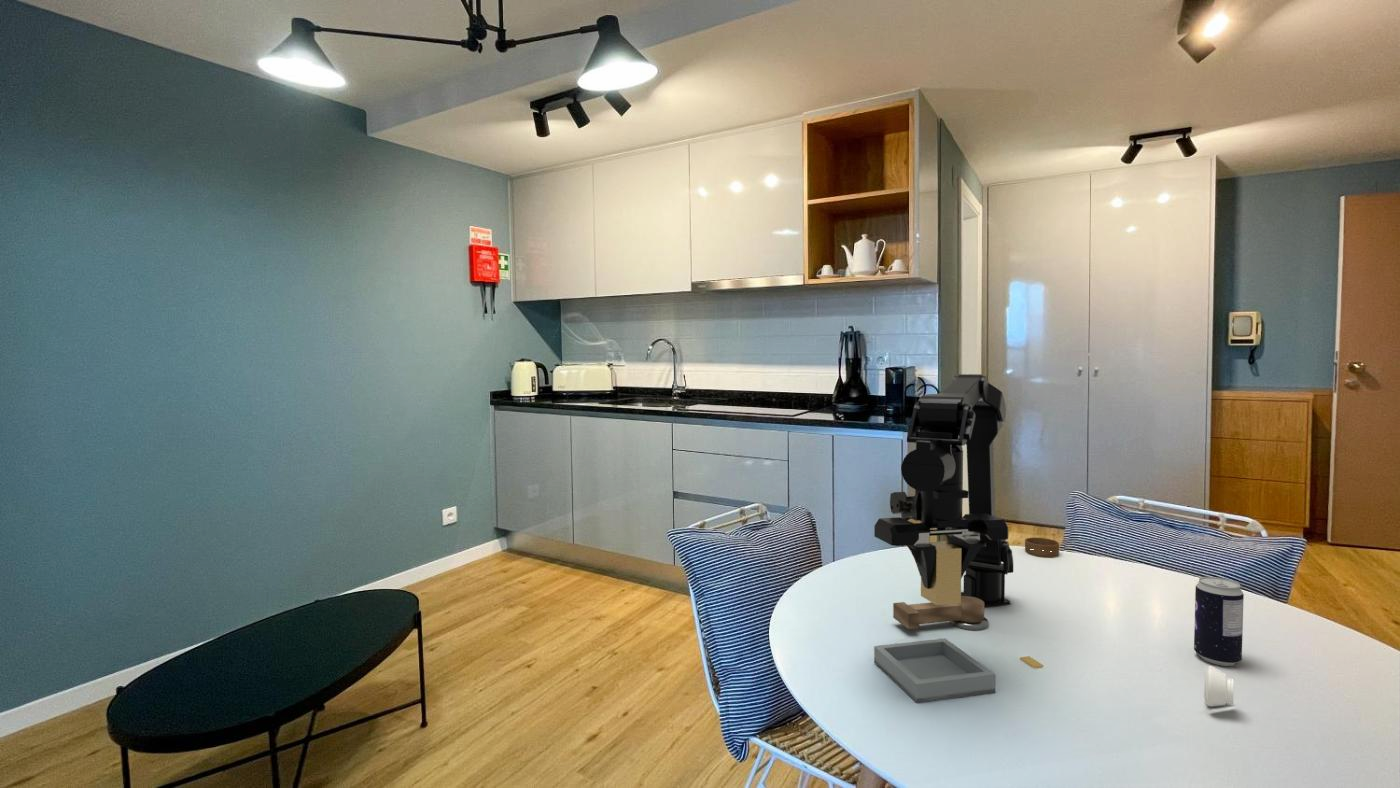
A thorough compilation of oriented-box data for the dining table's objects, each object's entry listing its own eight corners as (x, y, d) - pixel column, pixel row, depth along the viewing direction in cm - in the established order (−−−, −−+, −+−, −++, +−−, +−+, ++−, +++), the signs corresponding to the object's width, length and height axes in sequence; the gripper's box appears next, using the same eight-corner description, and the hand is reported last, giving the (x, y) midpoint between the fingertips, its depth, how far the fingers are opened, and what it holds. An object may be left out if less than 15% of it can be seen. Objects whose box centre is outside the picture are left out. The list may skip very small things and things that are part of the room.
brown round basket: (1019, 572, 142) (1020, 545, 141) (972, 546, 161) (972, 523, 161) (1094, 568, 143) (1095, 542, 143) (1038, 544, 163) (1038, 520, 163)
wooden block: (944, 593, 97) (945, 541, 97) (960, 602, 94) (961, 548, 93) (920, 595, 97) (921, 542, 96) (935, 605, 93) (936, 549, 92)
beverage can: (1231, 654, 100) (1233, 577, 99) (1248, 670, 95) (1251, 590, 94) (1187, 649, 102) (1189, 574, 101) (1202, 665, 97) (1204, 586, 96)
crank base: (973, 614, 117) (973, 610, 117) (1057, 665, 97) (1057, 660, 97) (941, 617, 115) (941, 613, 115) (1019, 669, 96) (1019, 665, 96)
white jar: (1204, 695, 88) (1205, 659, 88) (1232, 702, 86) (1233, 665, 86) (1203, 710, 84) (1204, 673, 84) (1232, 718, 82) (1233, 680, 82)
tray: (945, 654, 101) (945, 638, 101) (995, 692, 89) (995, 674, 89) (874, 662, 98) (874, 646, 98) (916, 703, 87) (916, 684, 87)
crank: (972, 610, 116) (972, 594, 116) (990, 621, 111) (990, 605, 111) (893, 618, 113) (893, 602, 113) (908, 629, 108) (908, 613, 108)
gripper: (964, 471, 104) (963, 567, 105) (858, 475, 100) (857, 574, 101) (1011, 482, 94) (1010, 589, 94) (894, 487, 90) (893, 598, 90)
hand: (940, 586), depth 95 cm, fingers closed on wooden block, 4 cm apart
